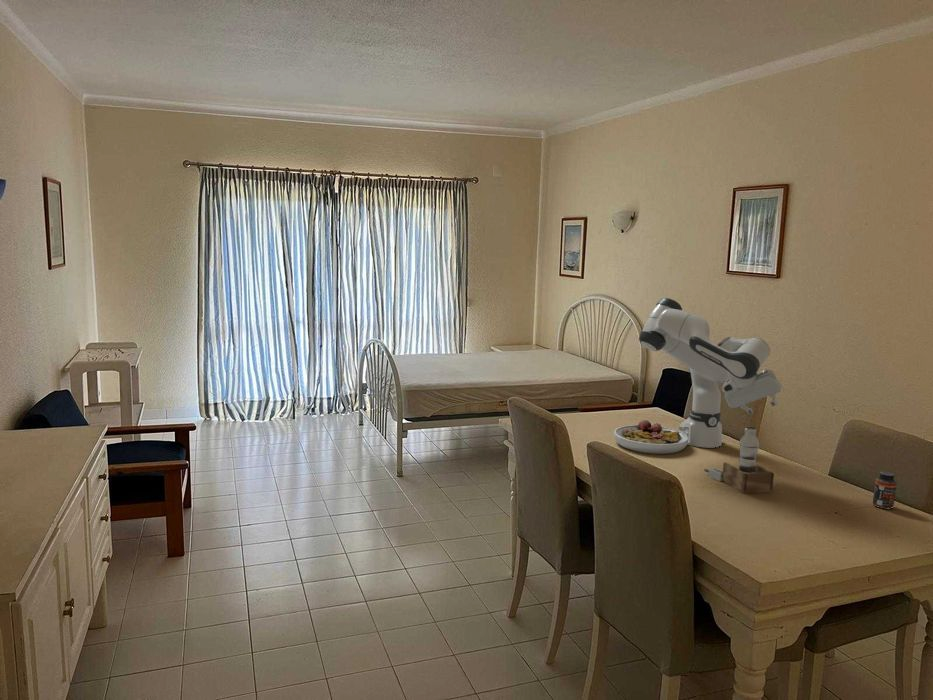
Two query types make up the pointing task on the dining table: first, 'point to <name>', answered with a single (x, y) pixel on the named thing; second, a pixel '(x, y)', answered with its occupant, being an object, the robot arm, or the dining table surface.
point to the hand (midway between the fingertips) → (763, 409)
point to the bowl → (650, 438)
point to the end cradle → (748, 479)
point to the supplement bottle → (884, 490)
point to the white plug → (715, 474)
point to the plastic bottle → (748, 451)
